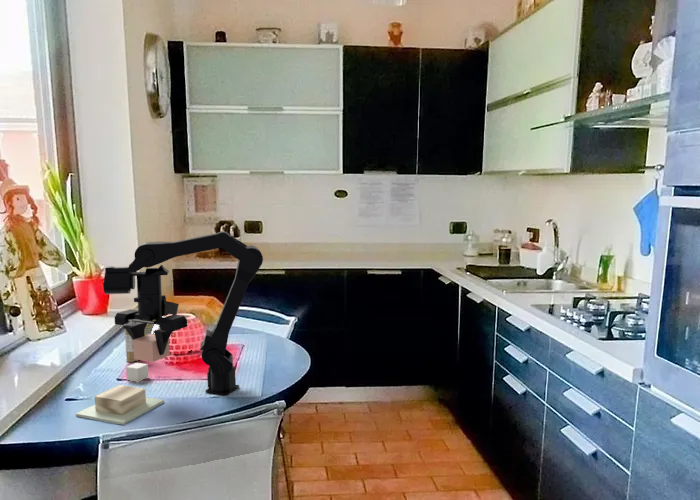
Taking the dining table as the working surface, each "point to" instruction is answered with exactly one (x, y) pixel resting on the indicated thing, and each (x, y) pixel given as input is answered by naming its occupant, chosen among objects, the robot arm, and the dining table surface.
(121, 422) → the baseplate
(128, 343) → the sprinkles bottle
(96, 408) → the block
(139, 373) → the cap block
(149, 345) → the coral block
